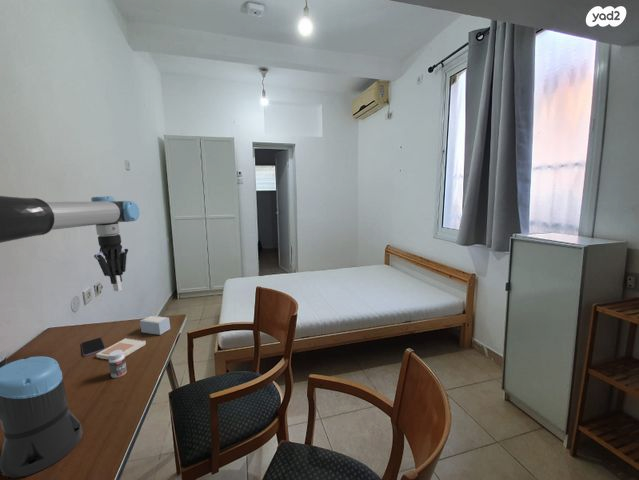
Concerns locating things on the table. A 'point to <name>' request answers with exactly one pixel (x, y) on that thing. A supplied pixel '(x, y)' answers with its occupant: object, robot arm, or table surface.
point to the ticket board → (122, 347)
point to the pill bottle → (117, 364)
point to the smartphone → (92, 346)
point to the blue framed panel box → (155, 325)
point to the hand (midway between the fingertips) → (117, 290)
